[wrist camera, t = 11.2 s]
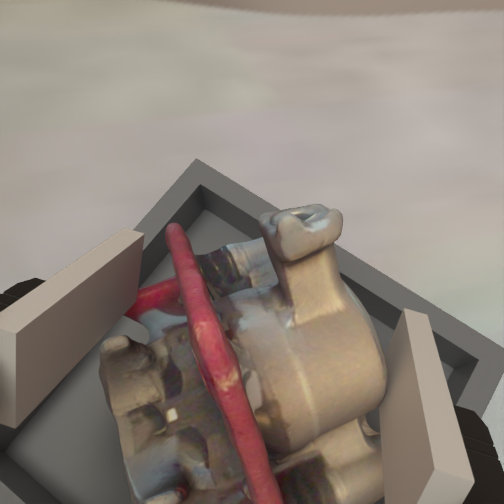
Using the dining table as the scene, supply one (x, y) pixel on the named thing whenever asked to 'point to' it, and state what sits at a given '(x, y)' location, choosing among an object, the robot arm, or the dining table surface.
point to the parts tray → (152, 271)
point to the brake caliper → (250, 374)
